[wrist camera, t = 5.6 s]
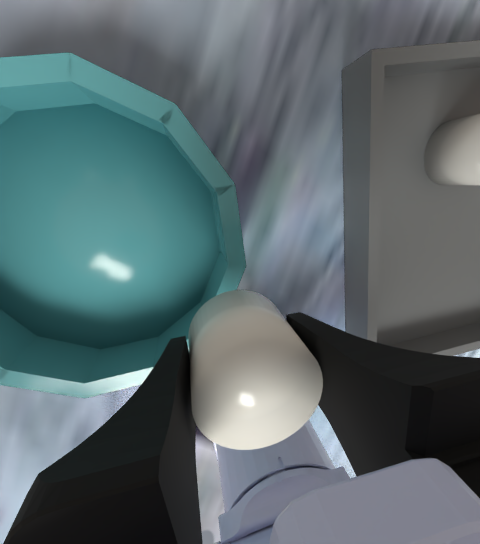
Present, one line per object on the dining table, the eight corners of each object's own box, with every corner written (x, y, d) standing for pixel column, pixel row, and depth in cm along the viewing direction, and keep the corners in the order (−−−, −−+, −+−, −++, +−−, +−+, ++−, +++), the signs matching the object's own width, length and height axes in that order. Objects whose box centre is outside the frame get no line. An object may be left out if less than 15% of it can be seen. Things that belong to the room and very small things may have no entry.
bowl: (243, 322, 22) (258, 355, 18) (14, 374, 20) (-31, 426, 15) (206, 77, 17) (215, 41, 12) (-117, 107, 14) (-243, 75, 10)
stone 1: (287, 361, 14) (326, 427, 10) (199, 385, 13) (206, 465, 10) (276, 280, 12) (318, 322, 9) (177, 302, 12) (176, 359, 8)
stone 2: (472, 180, 21) (534, 180, 18) (421, 189, 21) (474, 190, 17) (480, 116, 20) (550, 100, 16) (426, 123, 19) (485, 108, 15)
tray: (495, 318, 27) (531, 334, 25) (345, 357, 25) (366, 379, 22) (545, 50, 20) (604, 29, 17) (341, 70, 18) (371, 49, 15)
